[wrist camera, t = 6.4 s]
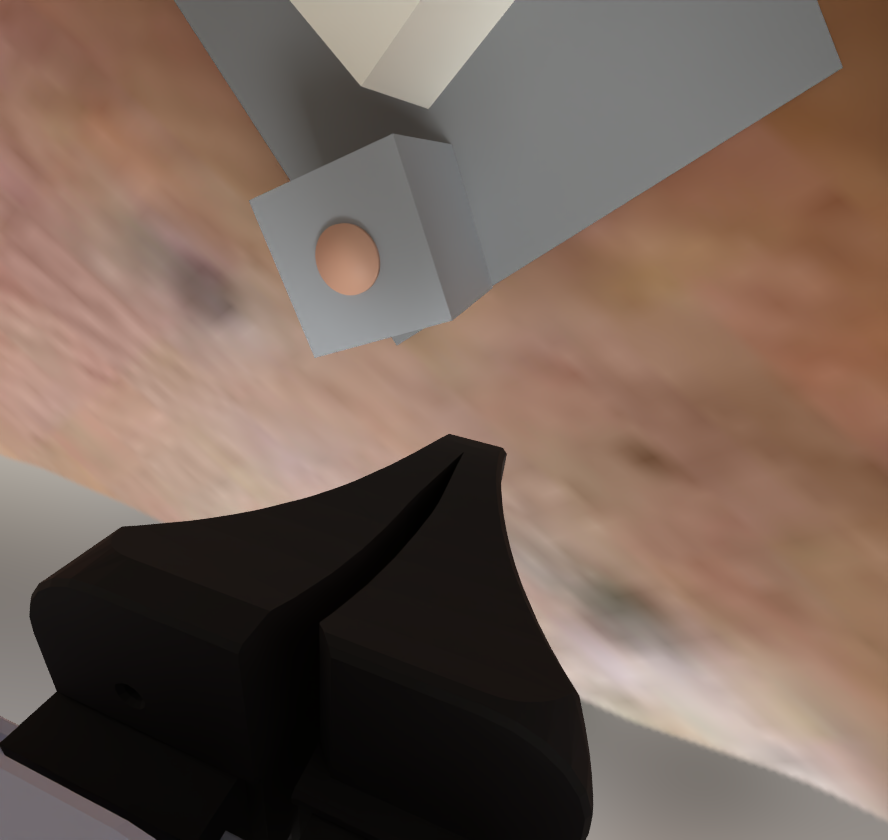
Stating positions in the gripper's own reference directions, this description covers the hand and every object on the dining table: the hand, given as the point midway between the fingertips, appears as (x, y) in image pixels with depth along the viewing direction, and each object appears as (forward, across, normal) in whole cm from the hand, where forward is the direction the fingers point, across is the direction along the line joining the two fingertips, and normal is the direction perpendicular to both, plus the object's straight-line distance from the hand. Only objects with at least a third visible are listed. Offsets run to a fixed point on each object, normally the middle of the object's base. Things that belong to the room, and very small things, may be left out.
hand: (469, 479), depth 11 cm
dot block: (+10, +5, -3) cm, 11 cm away
